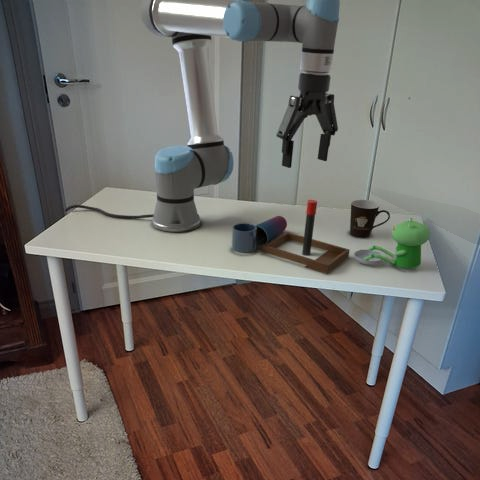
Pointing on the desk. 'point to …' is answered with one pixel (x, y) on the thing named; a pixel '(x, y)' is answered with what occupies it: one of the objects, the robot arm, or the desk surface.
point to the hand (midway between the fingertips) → (304, 163)
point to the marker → (309, 226)
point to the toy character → (405, 244)
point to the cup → (270, 229)
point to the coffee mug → (364, 217)
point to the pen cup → (244, 237)
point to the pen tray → (321, 264)
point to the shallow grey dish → (365, 253)
